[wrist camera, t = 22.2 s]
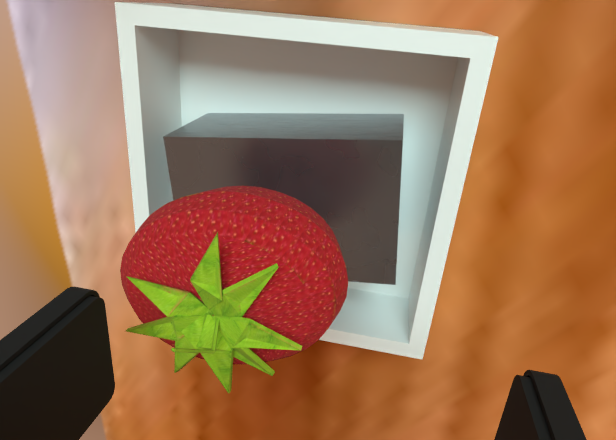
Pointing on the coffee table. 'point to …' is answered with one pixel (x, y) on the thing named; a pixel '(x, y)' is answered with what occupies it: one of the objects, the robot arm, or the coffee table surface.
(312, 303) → the strawberry
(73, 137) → the coffee table surface
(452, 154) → the tote
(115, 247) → the coffee table surface
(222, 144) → the block
